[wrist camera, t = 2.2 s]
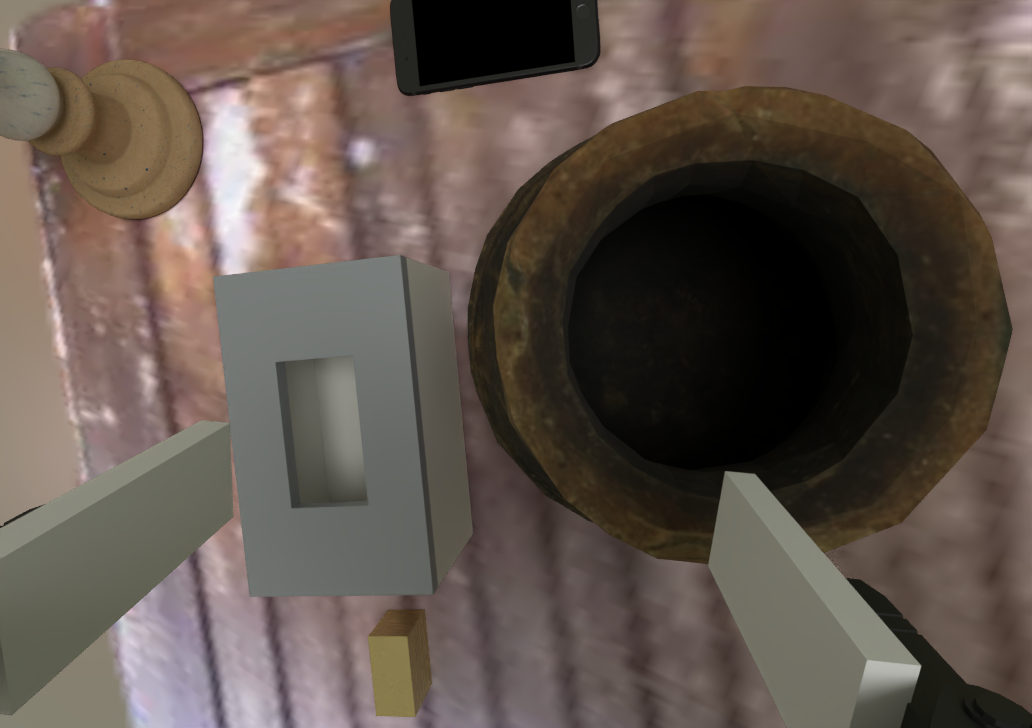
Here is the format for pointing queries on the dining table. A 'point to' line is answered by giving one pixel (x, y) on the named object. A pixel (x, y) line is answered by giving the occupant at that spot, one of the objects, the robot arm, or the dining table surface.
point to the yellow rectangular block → (400, 663)
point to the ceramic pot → (739, 319)
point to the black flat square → (489, 41)
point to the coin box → (345, 426)
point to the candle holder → (106, 130)
